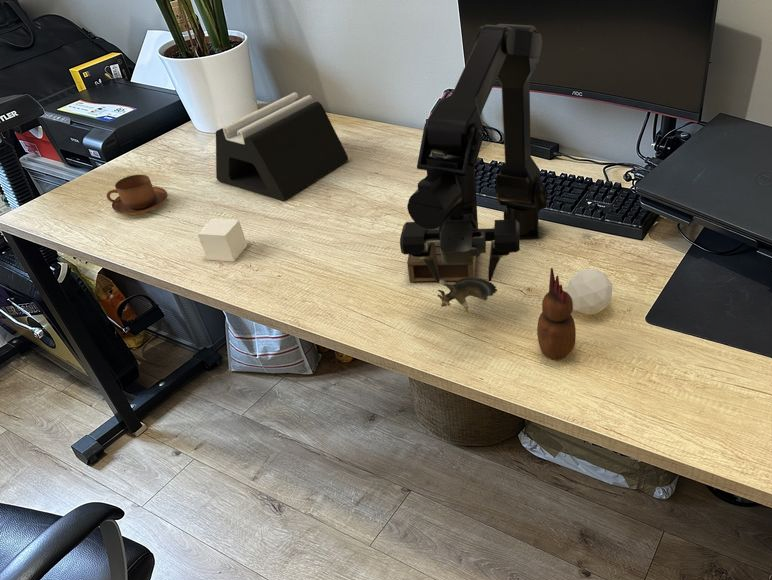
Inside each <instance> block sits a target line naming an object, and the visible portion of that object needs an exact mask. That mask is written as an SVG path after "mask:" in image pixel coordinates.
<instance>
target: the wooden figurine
mask: <svg viewBox="0 0 772 580" xmlns="http://www.w3.org/2000/svg"><path fill="white" fill-rule="evenodd" d="M549 273H550V274H549V284H548V292H547V293H546V294H544V295H543V298H542V303H541V311H542V312H541V313H540V314H539V316H538V320H537V325H536V327H537V328H536V333H537V341H538V346H539V349H540V351H541V353H542V354H543V355H544V356H545V357H546V358H548V359H550V360H554V361H559V360H562V359H566V358H567V357H568V356H569V355H570V354H571V353H572V351H573V349H574V348H575V344H576V339H577V337H576V335H577V331H576V329H577V328H576V323H575V319H574V317H573V315H572V314H573V311H574V309H573V302H572V298H571V296H570V295H569V294H568V293H567V292H566V290H563V285H562V284H560V279H559V275H556V276H555V273H554V268H553V267H550V272H549Z"/></svg>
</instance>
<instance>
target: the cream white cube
mask: <svg viewBox="0 0 772 580" xmlns="http://www.w3.org/2000/svg"><path fill="white" fill-rule="evenodd" d="M197 237H198V240H199V243H200V245H201V247H202V250H203V252H204V255H205V258H206V260H207V261H219V262H221V261H222V262H236V260H237V259H238V258H239V257H240V255H242V253H243V251H244V250H245V249H246V248H247V247H248V243H247V240H246V237H245V234H244V231H243V228H242V225H241V222H240V219H232V218H231V219H230V218H214V217H212V218H211V219H210V220H209V221H208V222H207V223H206V224H205V225H204V226H203V227H202V228H201V229H200V230H199V231H198V232H197Z"/></svg>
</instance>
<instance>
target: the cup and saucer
mask: <svg viewBox="0 0 772 580" xmlns="http://www.w3.org/2000/svg"><path fill="white" fill-rule="evenodd" d="M111 194H118V196H117V197H116V198H115V199H113V198H111ZM106 198H107V200H108V201H109V202H110V203H111V208H112V210H113V211H114V212H116V213H118V214H120V215H124V216H125V215H126V216H138V215H143V214H146V213H149V212H153V211H154V210H156V209H158V208H159V207H161V206H162V205H163V204H164V203H165V201H166V200H167V198H168V192H167V189H164V188H162V187H159V186H153V184H152V182H151V179H150V177H149V176H148V175H146V174H132V175H128V176H125V177H123V178H122V179H121V178H120V179H119V180H117V182H115V185H114V189H110V190H109V191H107V193H106Z"/></svg>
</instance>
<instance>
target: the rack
mask: <svg viewBox="0 0 772 580" xmlns="http://www.w3.org/2000/svg"><path fill="white" fill-rule="evenodd" d="M429 230H439V227H438V228H436V229H429ZM434 244H435V249H436V255H437V260H438V265H439V272H440V279H441V280H444V281H446V282H457V281H459V280H460V279H463V278H476V277H475V276H476V263H477V256H474V259H473V261H472V262H471V263H469V264H463V263H452V264H445V263H443V261H442V257H441V251H440V243H434ZM406 263H407V273H408V280H409V283H412V284H413V283H416V282H437V281H436V280H435V278H434V276H433V274H432V273H431V271H430V269H429V267H428V266H427V264H426V263H425V262H424V260H423V259H420V258H415V257H413V256H412V254H408V256H407V261H406Z"/></svg>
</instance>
